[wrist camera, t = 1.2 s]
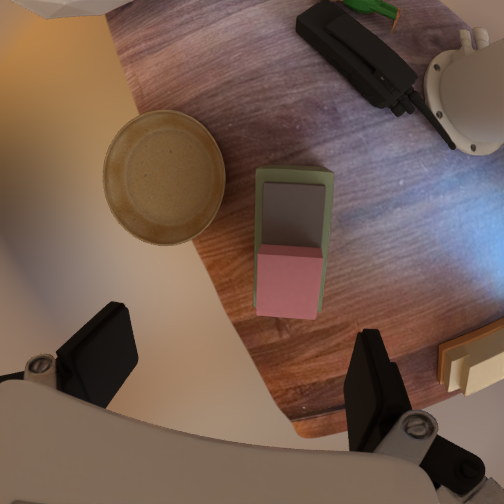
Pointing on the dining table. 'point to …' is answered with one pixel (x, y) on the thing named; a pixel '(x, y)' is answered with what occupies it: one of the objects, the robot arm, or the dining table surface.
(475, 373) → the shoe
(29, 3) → the geometric shape
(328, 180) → the rectangular block
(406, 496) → the robot arm
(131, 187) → the plant saucer
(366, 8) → the figurine
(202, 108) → the dining table surface
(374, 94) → the walkie-talkie
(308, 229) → the grey and pink l-bracket
